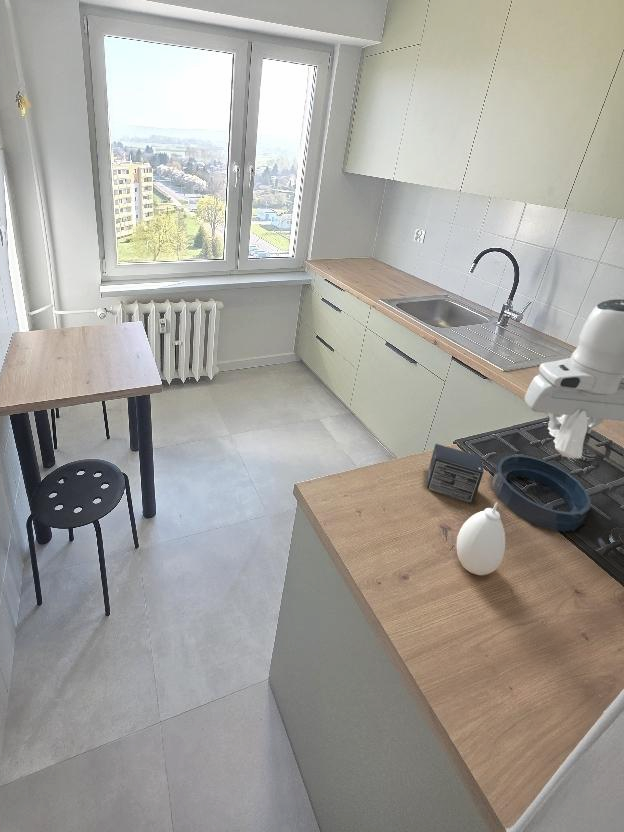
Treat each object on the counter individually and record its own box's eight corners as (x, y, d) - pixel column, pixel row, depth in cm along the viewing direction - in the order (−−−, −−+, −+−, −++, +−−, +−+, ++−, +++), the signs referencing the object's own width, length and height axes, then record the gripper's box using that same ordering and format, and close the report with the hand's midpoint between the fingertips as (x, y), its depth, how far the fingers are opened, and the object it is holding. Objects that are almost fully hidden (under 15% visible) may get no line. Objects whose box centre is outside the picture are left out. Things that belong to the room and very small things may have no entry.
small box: (471, 487, 104) (482, 455, 100) (472, 506, 99) (485, 473, 94) (426, 473, 108) (435, 441, 104) (425, 491, 103) (435, 458, 98)
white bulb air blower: (454, 579, 82) (479, 513, 75) (447, 545, 89) (469, 482, 82) (498, 591, 80) (528, 524, 73) (487, 555, 87) (513, 491, 80)
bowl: (553, 477, 109) (561, 459, 106) (599, 539, 92) (610, 519, 89) (479, 468, 111) (486, 450, 108) (511, 527, 94) (519, 508, 91)
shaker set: (578, 466, 87) (599, 423, 82) (554, 458, 89) (573, 416, 84) (568, 433, 97) (585, 393, 92) (546, 427, 98) (563, 388, 94)
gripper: (636, 372, 87) (610, 426, 93) (532, 363, 89) (512, 415, 95) (659, 389, 81) (630, 445, 87) (548, 378, 84) (526, 433, 89)
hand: (568, 429), depth 91 cm, fingers closed on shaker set, 5 cm apart
